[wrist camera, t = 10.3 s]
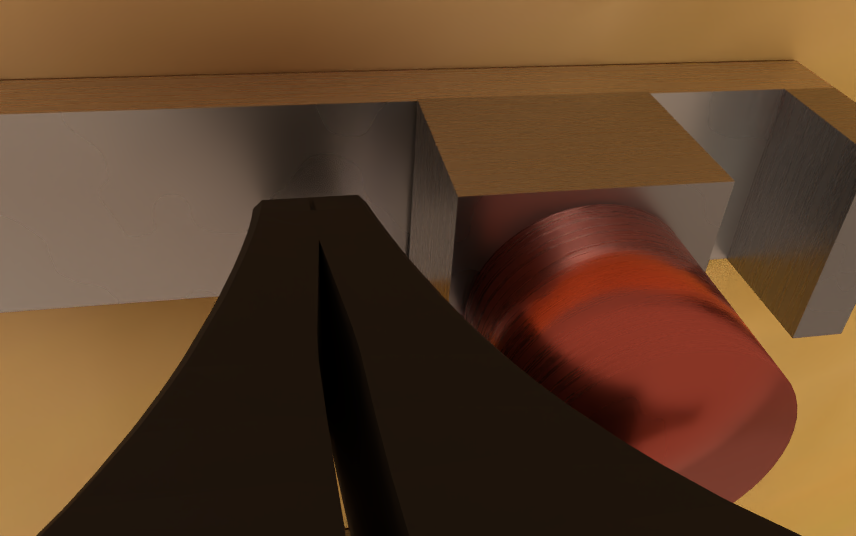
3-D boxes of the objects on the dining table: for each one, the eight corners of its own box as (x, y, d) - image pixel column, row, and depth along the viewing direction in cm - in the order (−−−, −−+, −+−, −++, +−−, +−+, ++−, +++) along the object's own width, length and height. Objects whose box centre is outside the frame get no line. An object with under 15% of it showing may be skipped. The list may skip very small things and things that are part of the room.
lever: (604, 278, 13) (759, 534, 9) (407, 293, 12) (484, 575, 8) (647, 91, 11) (868, 318, 7) (417, 98, 10) (522, 351, 6)
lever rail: (740, 222, 14) (841, 333, 12) (-76, 276, 12) (-155, 430, 9) (796, 60, 12) (927, 154, 10) (-154, 83, 10) (-274, 214, 8)
